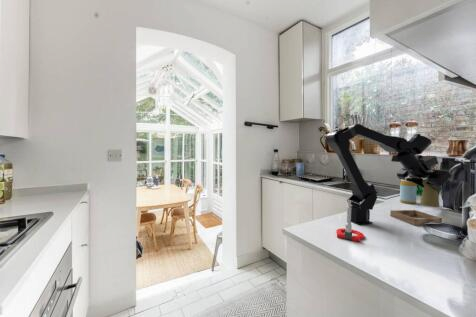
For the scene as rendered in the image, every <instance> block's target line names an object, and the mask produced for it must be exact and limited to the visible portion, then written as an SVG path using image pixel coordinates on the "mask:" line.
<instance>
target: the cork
mask: <svg viewBox="0 0 476 317" xmlns="http://www.w3.org/2000/svg"><path fill="white" fill-rule="evenodd" d="M427 182H428V178H425V179H423V185H424V188H423V189H422V193H421V197H420V202H419V205H422V206H426V207H432V208H439V207H440V200H439V199H440V198H439V191H437V190H435V189H434V188H432V187H430V186H428V185H427V184H426V183H427Z"/></svg>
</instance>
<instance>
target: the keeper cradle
mask: <svg viewBox="0 0 476 317" xmlns="http://www.w3.org/2000/svg"><path fill="white" fill-rule="evenodd" d="M389 211H390V213H389V214H390V217H392V218H395V219H397V220H399V221H400V222H401V221H402V222H404V223H406V224H409V225H412V226H415V227H416V226H425V225H424V224H425V223H429V222H435V223H442V224H443V218H442V217H439V216H435V215H433V214H429V213H427V212H423V211H420V210H417V209H398V210H397V209H395V210H391V209H390V210H389ZM416 217H417V218H416Z"/></svg>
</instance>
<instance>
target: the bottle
mask: <svg viewBox="0 0 476 317" xmlns="http://www.w3.org/2000/svg"><path fill="white" fill-rule="evenodd" d="M406 179H407V178H406V177H405V180H403V179H400V180H401V181H400V182H399V201H400V202H401V203H403V204H408V205H415V204H416V203H417V190H418V185H416V184H414V183H411V182H409V181H406Z"/></svg>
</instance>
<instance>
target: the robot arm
mask: <svg viewBox="0 0 476 317" xmlns="http://www.w3.org/2000/svg"><path fill="white" fill-rule="evenodd" d="M355 137H357V138H361V139H363V140H366V141H368V142H370V143H374V144H376V145H378V146H379V148H381V149H382V150H384V151H385V152H386V153H396V154H392V158H391V162H392V163H393V162H394V163H395V162H396V163H400V164H401V165H402V167H401V169H400V170H398V172H397V173H396V177H397V178H398V179H399V180H401V179H403V180H405V177H406V178H407V179H406V181H409V182H411V183H414V184H416V185H417V187H418V186H419V187H421V188H423V189H424V185H423V180H424V179H428V182H427V183H426V184H427V185H428V186H430V187H432V188H434V189H435V190H437V191H438V192H441V191H442V188H441V187H442V185H444V184H445V183H446V182H447V181H448V180H449V179H450V178H451V176H452V173H451V172H450V171H449V170H446V169H435V170H434V171H431V170H432V167H433V166H436V165H438V164H439V161H438V158H437V156H436V155H422V154H423V153H424V152H425V151H426V150H427V149H428V148H429V147H430V146H431V145H432V140H431V139H430V138H428V137H427V136H424V135H421V133H414V134H413V135H412V137H410V139H409V140H408V139H406V138H404V137H400V136H393V135H387V134H384V133H381V132H379V131H376V130H374V129H371V128H369V127H366V126H364V125H362V124H360V123H355V124H350V125H349V126H346V127H344V128H341V129H339V130H334V131H330V132H329V133H327V134H326V136H325V138H324V139H325V143H326V144H327V146H328V147H329V148H330V149H331V150H332V151H333V152H334V153H335V154H336V155H337V158H338V159H339V161H340V163H341V165H342V167H343V169H344V171H345V174H346V175H347V177H348V179H349V181H350V184H351V193H352V194H351V195H350V196H349V197H348V198H347V199H346V201H347V203H348V201H349V200H350V201H351V223H354V224H356V225H358V226H362V225H370V224H373V221H370V220H371V219H370V215H371V214H370V212H371V211H372V210H373V209H374V206H375V204H376V201H377V199H378V195H377V194H378V191H377V190H376V188H375V185H374V184H373V183H370V182H366V180H365V178H364V177H363V174H362V173H361V170H360V169H359V167H358V164H357V162H356V161H355V158H354V156H353V154H352V152H351V150H350V147H351V146H350V145H351V142H350V140H351V139H354V138H355ZM370 210H371V211H370Z"/></svg>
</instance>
